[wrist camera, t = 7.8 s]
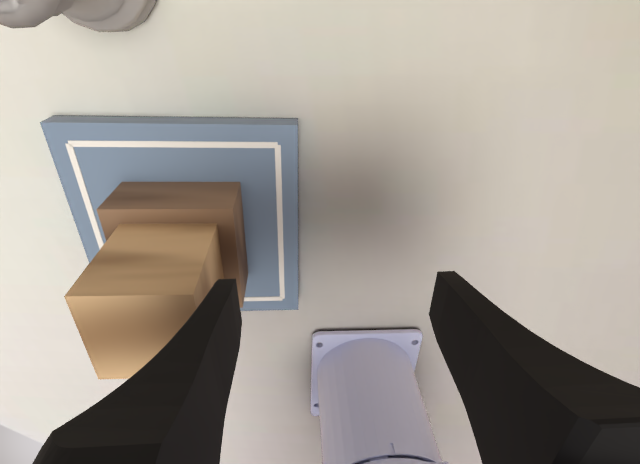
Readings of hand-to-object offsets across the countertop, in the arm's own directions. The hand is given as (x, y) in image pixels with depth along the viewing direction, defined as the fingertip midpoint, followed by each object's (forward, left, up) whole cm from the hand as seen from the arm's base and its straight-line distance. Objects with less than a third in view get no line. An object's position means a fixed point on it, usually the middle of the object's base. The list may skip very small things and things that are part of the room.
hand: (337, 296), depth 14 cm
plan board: (-2, +7, -9) cm, 12 cm away
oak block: (-2, +7, -5) cm, 9 cm away
